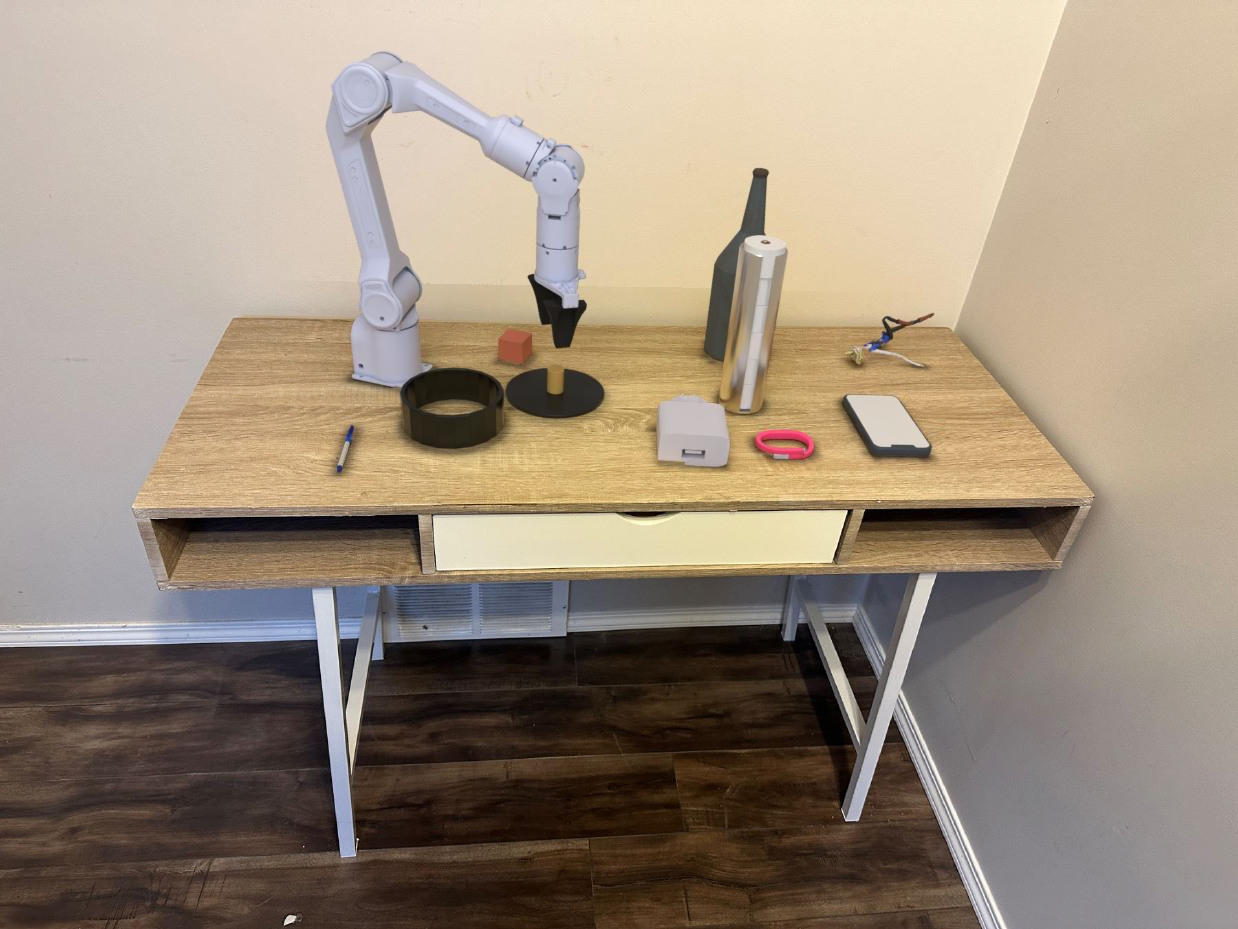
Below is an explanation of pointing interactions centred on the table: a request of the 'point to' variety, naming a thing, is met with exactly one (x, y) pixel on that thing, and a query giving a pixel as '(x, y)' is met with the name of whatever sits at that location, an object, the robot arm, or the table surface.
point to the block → (515, 345)
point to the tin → (452, 427)
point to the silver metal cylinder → (752, 323)
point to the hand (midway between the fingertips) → (555, 334)
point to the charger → (692, 431)
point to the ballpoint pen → (345, 449)
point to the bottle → (733, 267)
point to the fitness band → (785, 452)
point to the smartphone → (886, 425)
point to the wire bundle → (885, 340)
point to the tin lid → (554, 392)
